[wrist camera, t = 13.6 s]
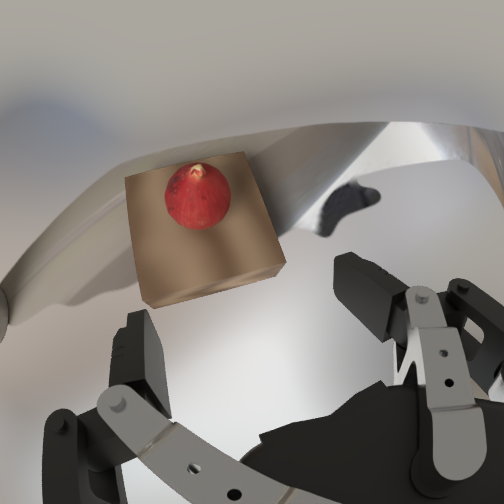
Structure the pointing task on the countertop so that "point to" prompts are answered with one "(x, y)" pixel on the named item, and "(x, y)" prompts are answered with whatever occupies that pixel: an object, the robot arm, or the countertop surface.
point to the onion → (197, 196)
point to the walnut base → (200, 237)
